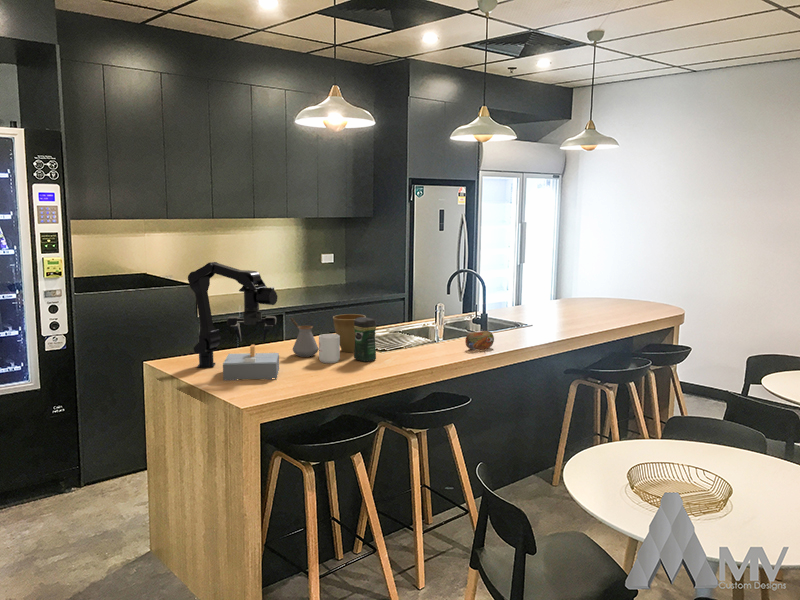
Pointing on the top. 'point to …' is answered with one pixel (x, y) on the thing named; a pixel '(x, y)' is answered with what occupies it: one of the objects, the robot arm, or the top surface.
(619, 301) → the top surface
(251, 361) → the lid
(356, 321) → the coffee jar
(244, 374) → the carton
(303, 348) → the coffee pot
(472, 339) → the tin
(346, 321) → the plant pot
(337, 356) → the mug
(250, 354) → the lid
